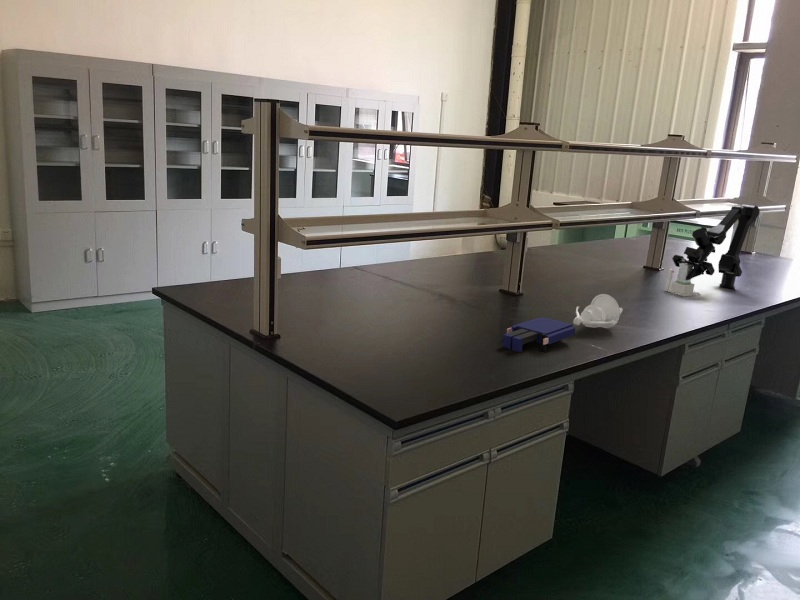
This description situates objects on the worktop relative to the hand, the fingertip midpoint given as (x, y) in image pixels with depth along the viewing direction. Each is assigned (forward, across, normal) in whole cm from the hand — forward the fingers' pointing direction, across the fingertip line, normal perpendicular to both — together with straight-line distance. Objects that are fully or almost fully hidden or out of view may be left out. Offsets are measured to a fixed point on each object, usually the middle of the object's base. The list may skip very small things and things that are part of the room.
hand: (682, 278), depth 292 cm
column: (+4, 0, +6) cm, 7 cm away
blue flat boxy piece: (+84, +29, -75) cm, 116 cm away
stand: (+4, 0, +6) cm, 7 cm away
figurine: (+62, +26, -53) cm, 86 cm away
